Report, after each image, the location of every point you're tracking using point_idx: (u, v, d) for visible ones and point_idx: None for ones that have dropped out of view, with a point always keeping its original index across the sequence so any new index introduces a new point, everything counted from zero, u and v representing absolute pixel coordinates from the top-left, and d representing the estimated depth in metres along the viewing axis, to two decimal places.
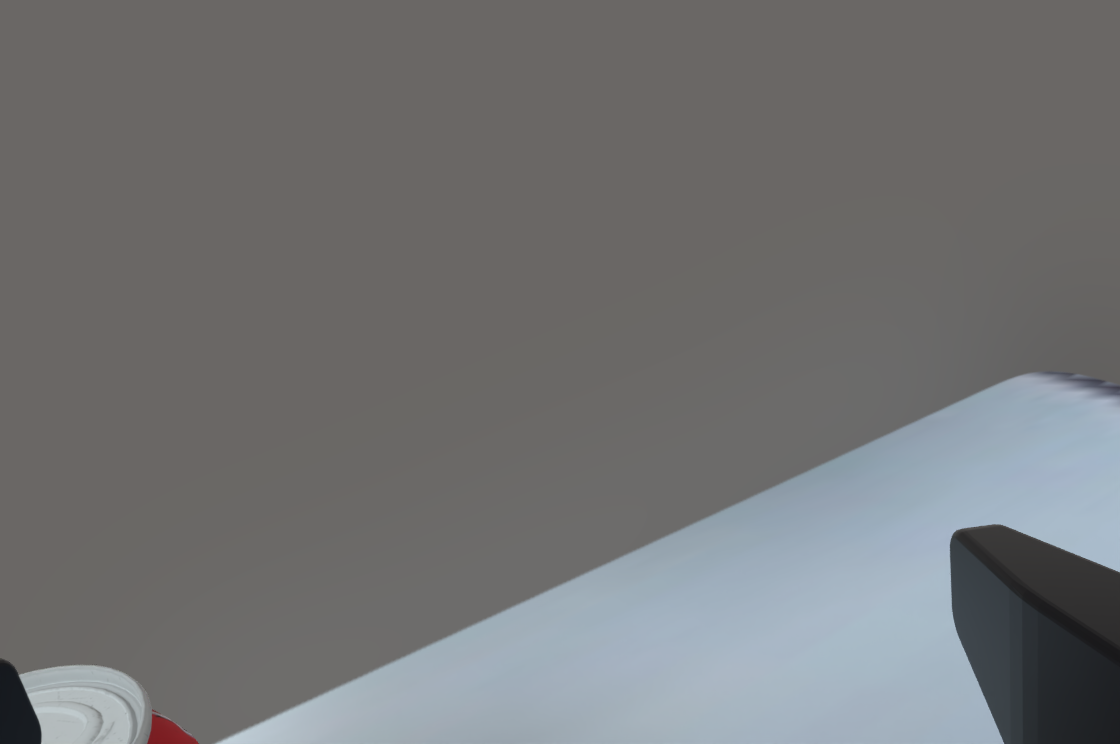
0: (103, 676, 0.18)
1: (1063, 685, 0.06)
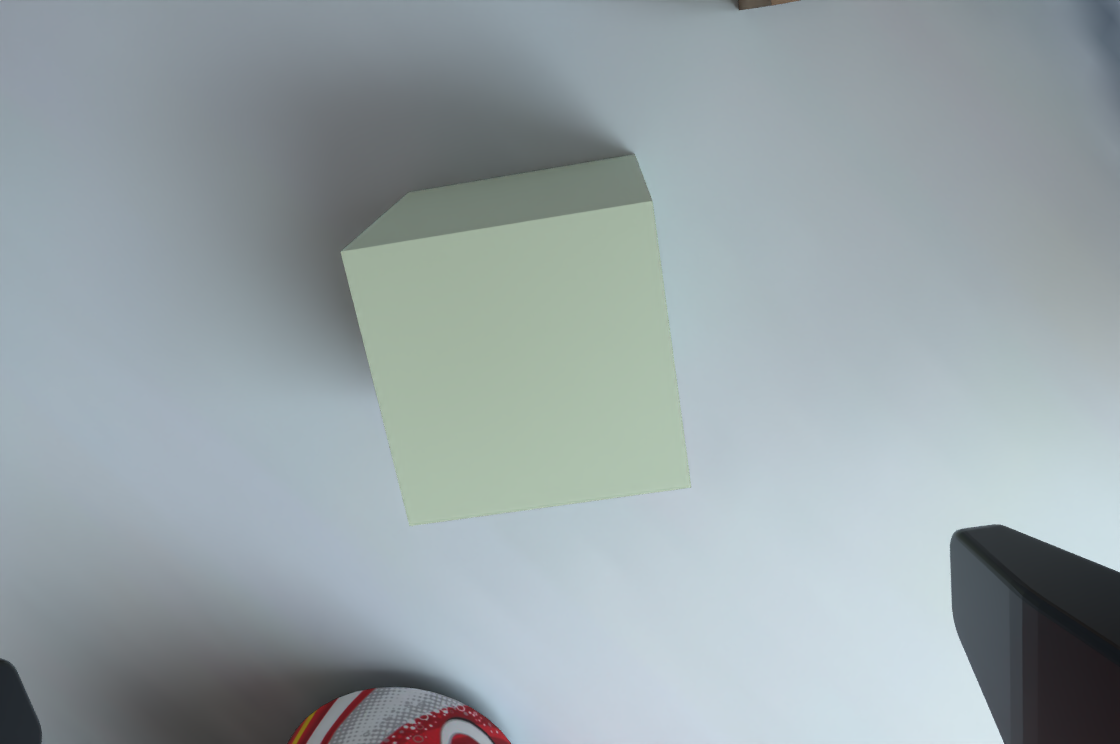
0: None
1: (1063, 685, 0.06)
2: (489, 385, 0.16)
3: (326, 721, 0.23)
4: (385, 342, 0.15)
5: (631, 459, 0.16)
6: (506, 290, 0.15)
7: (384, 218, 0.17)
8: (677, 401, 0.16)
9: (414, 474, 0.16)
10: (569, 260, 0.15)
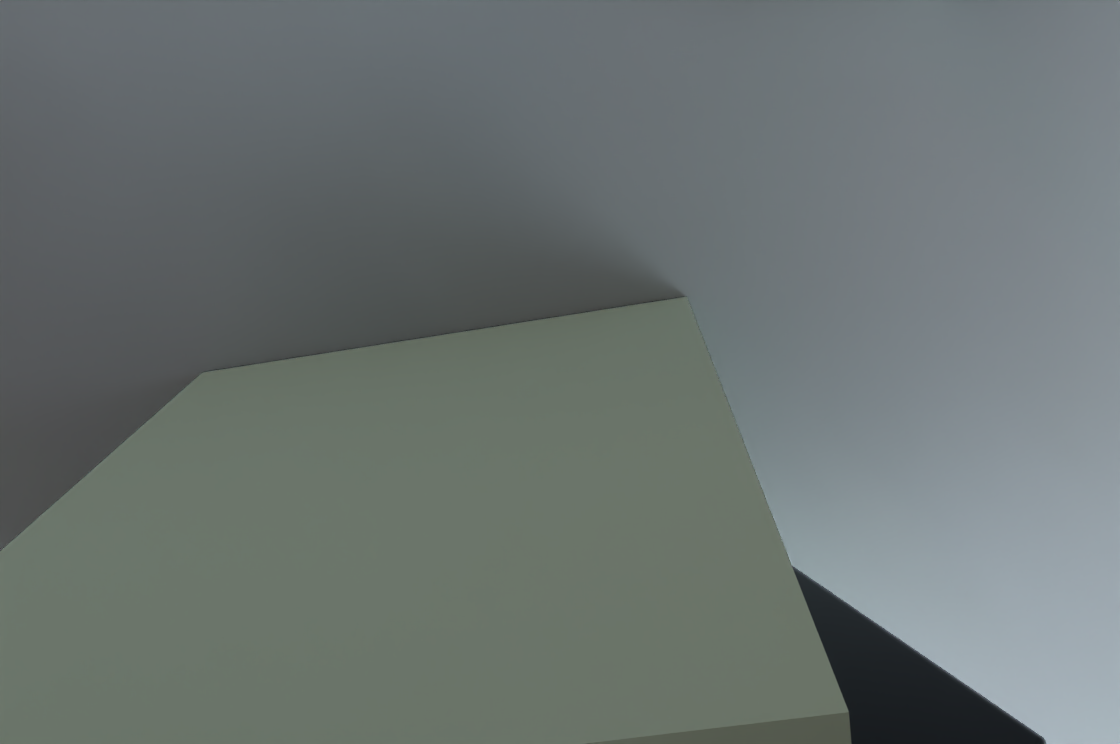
0: None
1: None
2: None
3: None
4: None
5: None
6: None
7: (39, 530, 0.06)
8: None
9: None
10: None
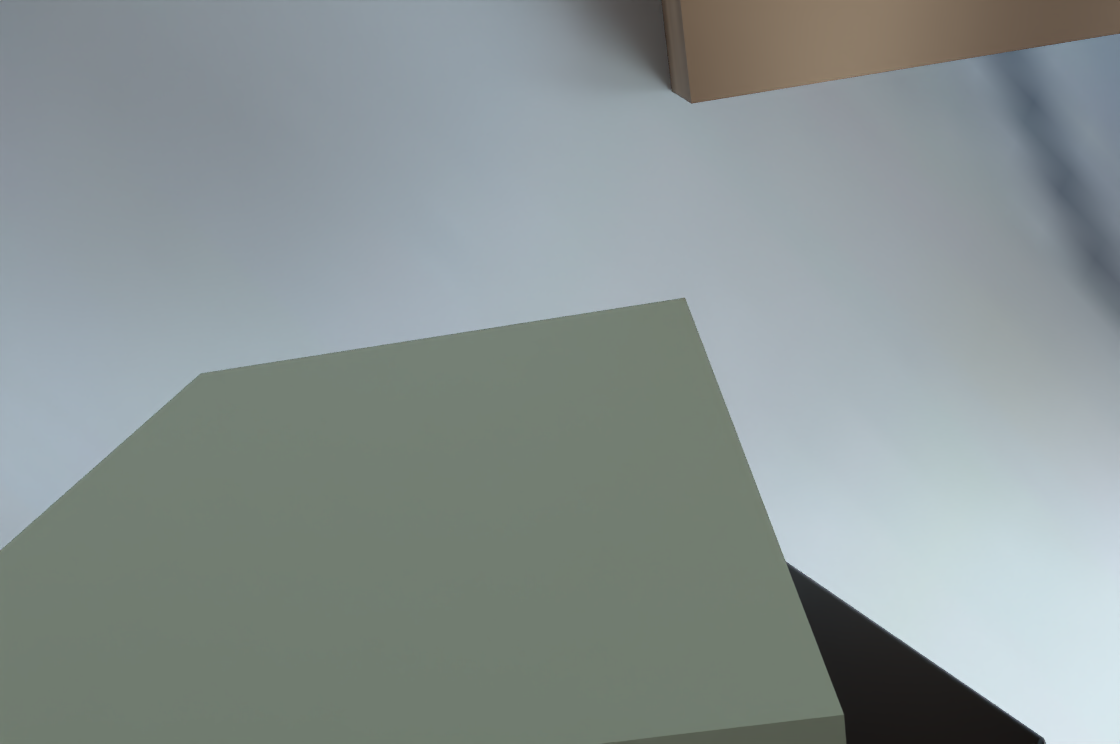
0: None
1: None
2: None
3: None
4: None
5: None
6: None
7: (37, 531, 0.06)
8: None
9: None
10: None
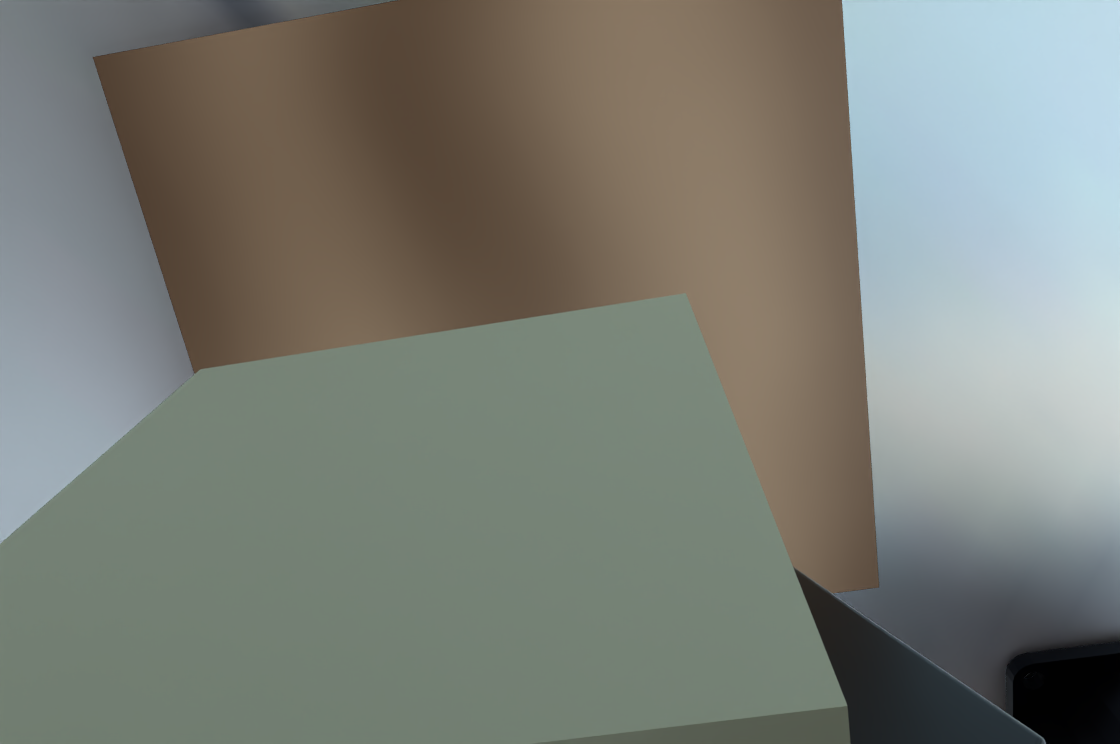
0: None
1: None
2: None
3: None
4: None
5: None
6: None
7: (36, 525, 0.06)
8: None
9: None
10: None
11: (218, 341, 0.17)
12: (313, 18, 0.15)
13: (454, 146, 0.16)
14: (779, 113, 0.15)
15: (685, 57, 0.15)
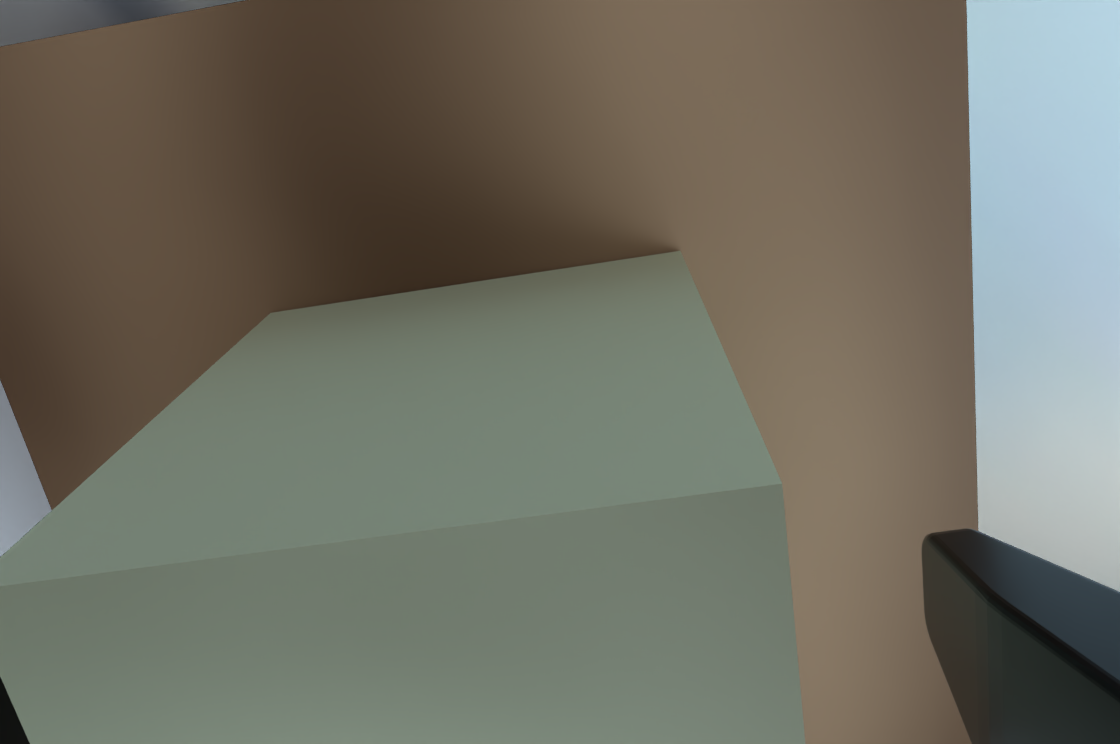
0: None
1: (1026, 690, 0.06)
2: None
3: None
4: None
5: None
6: (395, 682, 0.06)
7: (169, 415, 0.08)
8: None
9: None
10: (556, 619, 0.06)
11: (80, 462, 0.12)
12: (193, 13, 0.10)
13: (401, 197, 0.11)
14: (868, 151, 0.11)
15: (734, 70, 0.10)
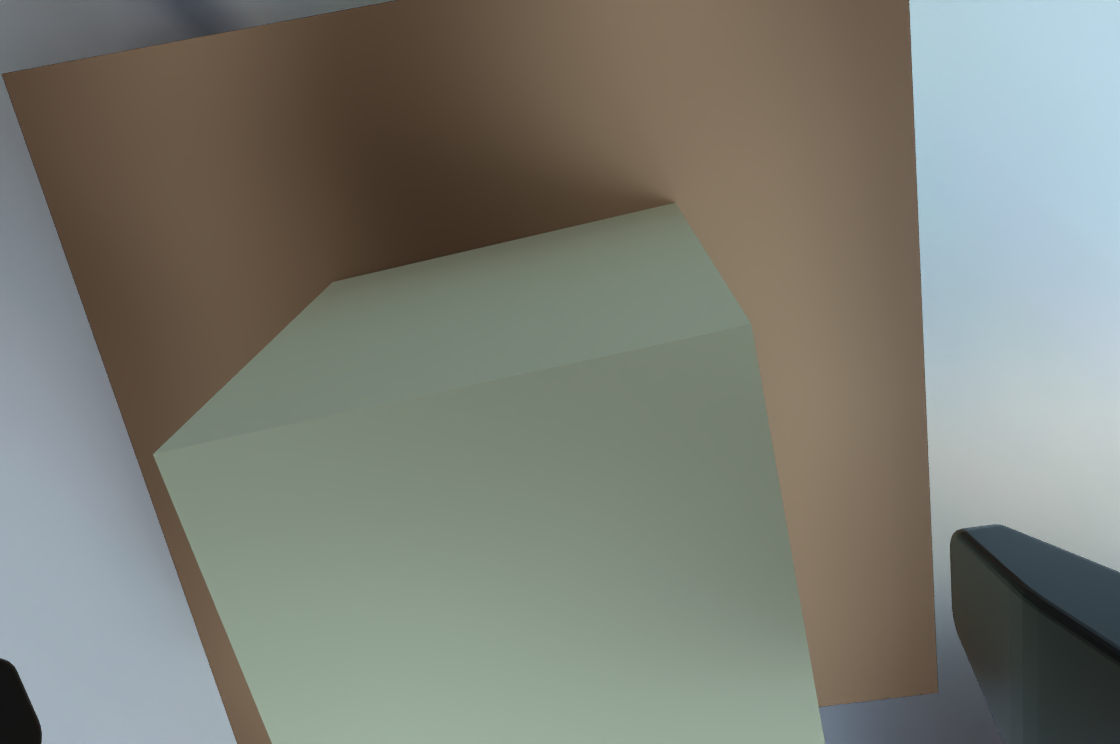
0: None
1: (1063, 685, 0.06)
2: (458, 669, 0.08)
3: None
4: (257, 608, 0.08)
5: None
6: (476, 505, 0.08)
7: (270, 350, 0.10)
8: (809, 677, 0.08)
9: None
10: (593, 444, 0.08)
11: (159, 408, 0.14)
12: (266, 27, 0.12)
13: (438, 181, 0.13)
14: (829, 142, 0.13)
15: (717, 75, 0.12)
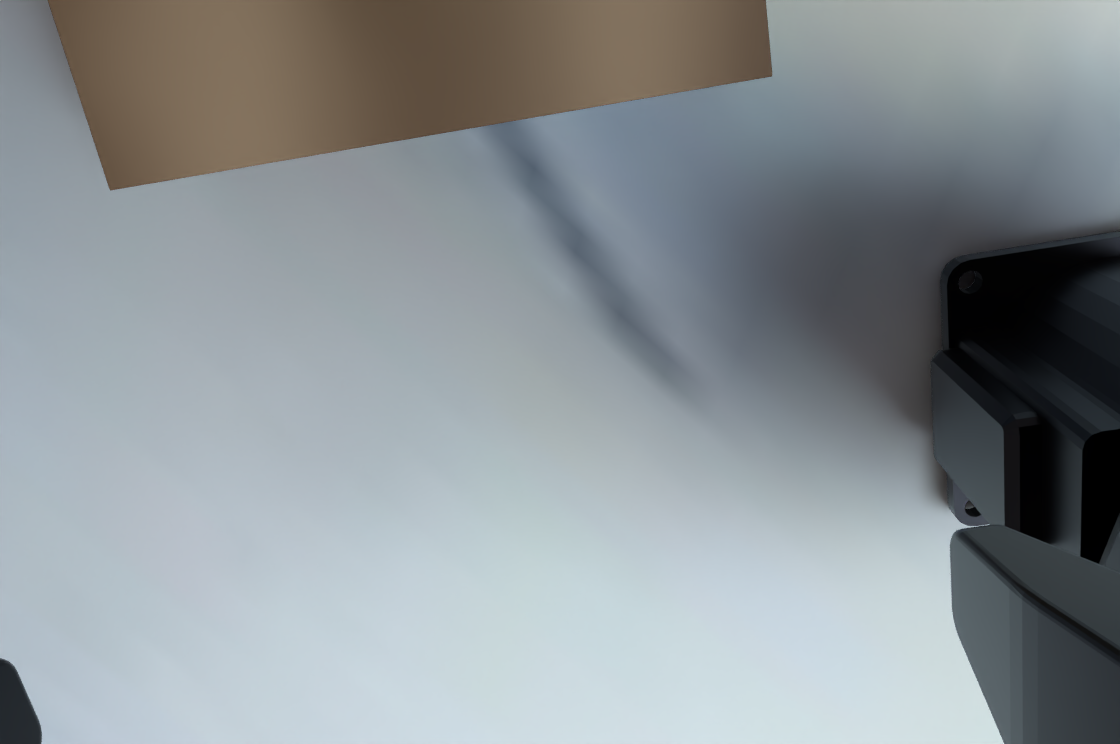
0: None
1: (1063, 685, 0.06)
2: None
3: None
4: None
5: None
6: None
7: None
8: None
9: None
10: None
11: None
12: None
13: None
14: None
15: None
